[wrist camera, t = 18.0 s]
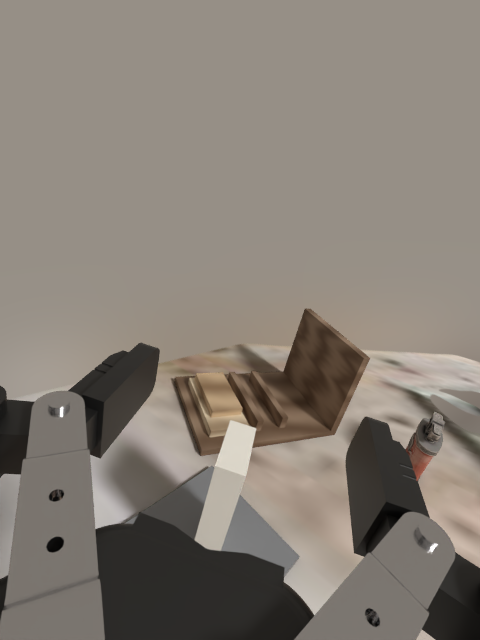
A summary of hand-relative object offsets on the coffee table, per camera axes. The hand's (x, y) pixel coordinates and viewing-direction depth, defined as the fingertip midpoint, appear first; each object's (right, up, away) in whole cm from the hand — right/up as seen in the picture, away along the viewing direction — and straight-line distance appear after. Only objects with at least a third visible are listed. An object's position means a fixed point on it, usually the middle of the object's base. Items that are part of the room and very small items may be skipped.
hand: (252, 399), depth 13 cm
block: (-4, -20, +21) cm, 30 cm away
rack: (+2, -12, +43) cm, 45 cm away
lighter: (+25, -20, +39) cm, 50 cm away
